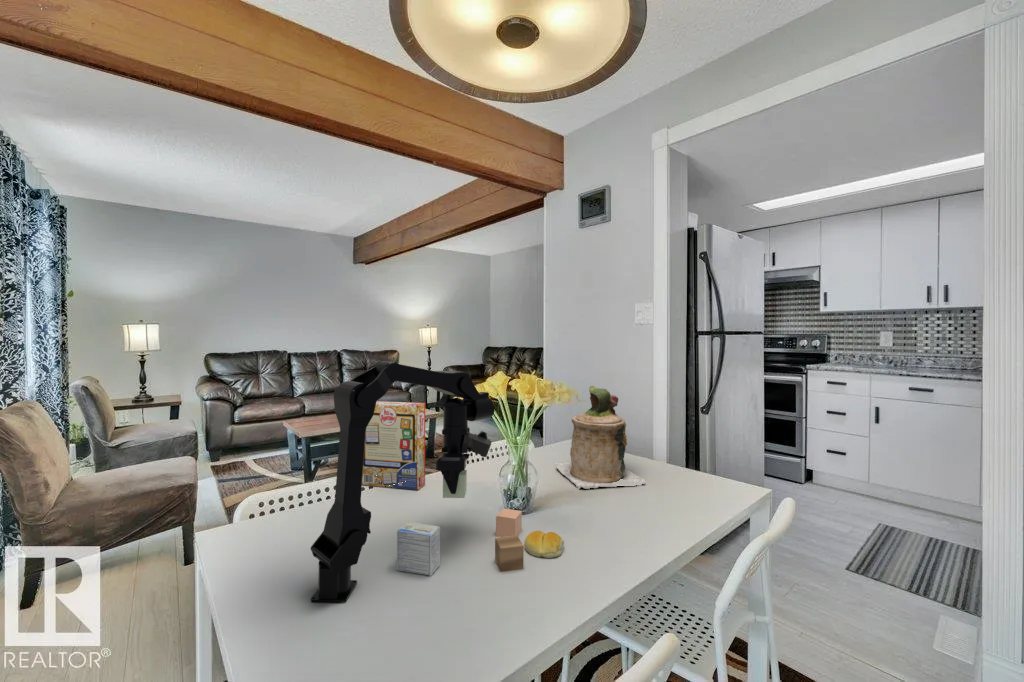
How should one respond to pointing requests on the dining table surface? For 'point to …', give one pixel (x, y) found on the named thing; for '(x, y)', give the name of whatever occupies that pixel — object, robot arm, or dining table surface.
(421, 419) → the board game box
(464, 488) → the sage cube
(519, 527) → the terracotta cube
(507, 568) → the walnut cube
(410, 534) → the medicine box
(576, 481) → the cookie jar
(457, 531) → the dining table surface
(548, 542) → the bread roll
